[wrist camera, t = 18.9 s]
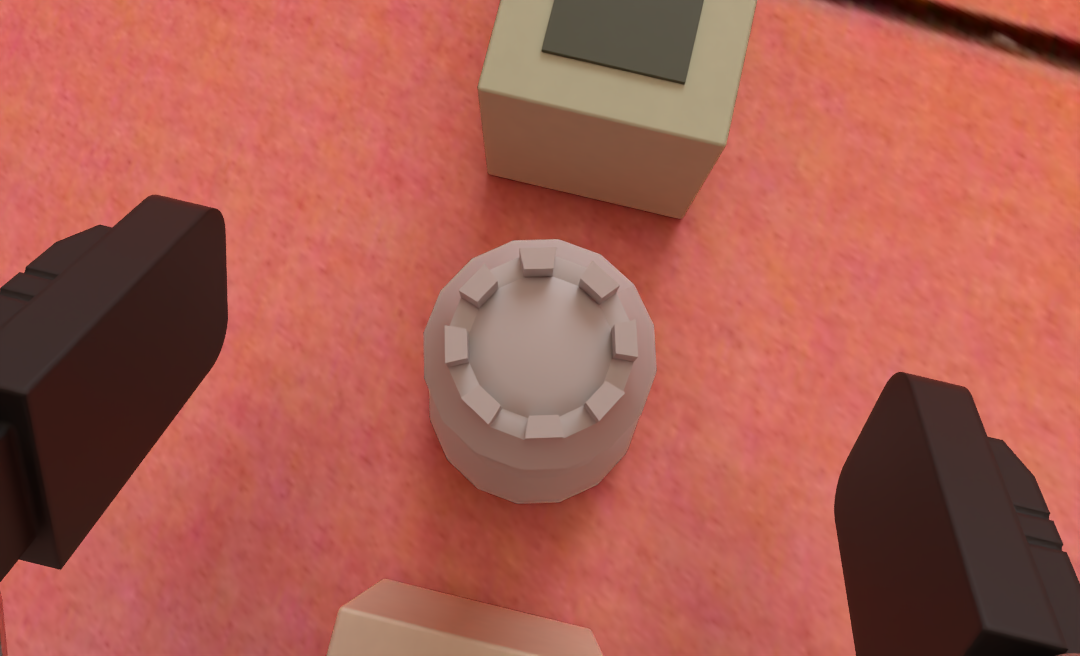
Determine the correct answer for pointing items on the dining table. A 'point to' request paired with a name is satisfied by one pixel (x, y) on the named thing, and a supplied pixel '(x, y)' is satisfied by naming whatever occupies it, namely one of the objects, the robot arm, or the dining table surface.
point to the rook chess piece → (537, 369)
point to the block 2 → (613, 95)
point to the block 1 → (447, 627)
